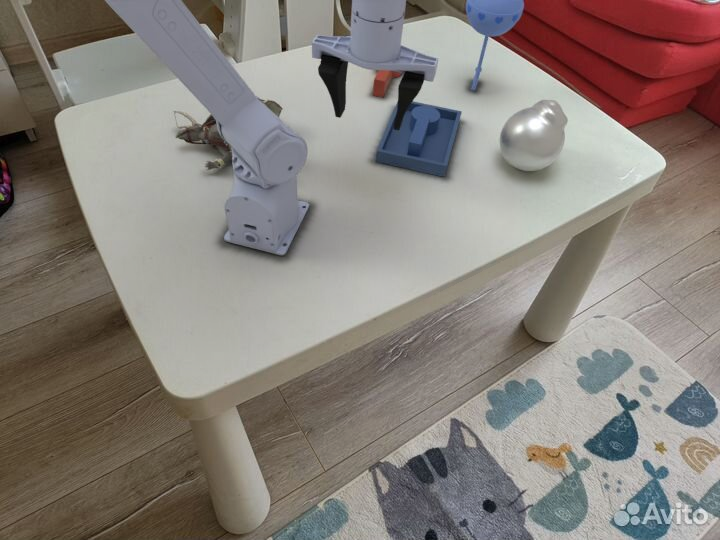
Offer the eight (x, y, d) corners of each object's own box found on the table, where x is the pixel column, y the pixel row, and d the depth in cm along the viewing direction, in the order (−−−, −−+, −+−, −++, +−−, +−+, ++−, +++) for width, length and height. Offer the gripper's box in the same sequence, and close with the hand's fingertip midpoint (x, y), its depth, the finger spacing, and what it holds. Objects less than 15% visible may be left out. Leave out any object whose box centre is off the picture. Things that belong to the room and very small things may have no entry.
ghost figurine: (565, 182, 75) (593, 123, 67) (503, 185, 74) (524, 125, 66) (543, 143, 81) (566, 85, 73) (484, 146, 79) (502, 86, 72)
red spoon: (390, 99, 86) (392, 82, 84) (365, 93, 87) (366, 77, 84) (404, 67, 93) (406, 51, 90) (380, 62, 93) (382, 46, 91)
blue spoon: (427, 163, 75) (430, 146, 73) (397, 156, 76) (400, 139, 73) (439, 122, 82) (443, 105, 79) (412, 116, 82) (415, 99, 80)
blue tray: (444, 177, 74) (446, 166, 73) (375, 161, 75) (376, 150, 74) (459, 122, 83) (461, 111, 81) (397, 109, 84) (398, 98, 83)
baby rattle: (494, 106, 86) (528, -6, 72) (444, 95, 88) (467, -18, 74) (501, 81, 92) (534, -29, 78) (454, 70, 93) (477, -39, 79)
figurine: (146, 137, 68) (186, 71, 78) (159, 174, 72) (196, 107, 83) (297, 145, 66) (317, 77, 77) (301, 182, 71) (319, 113, 82)
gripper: (450, 7, 57) (430, 113, 68) (325, -16, 59) (324, 91, 70) (439, 35, 53) (419, 145, 63) (304, 10, 55) (307, 120, 65)
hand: (368, 119), depth 66 cm, fingers open, 7 cm apart
